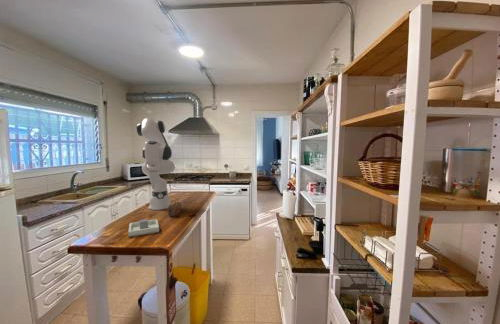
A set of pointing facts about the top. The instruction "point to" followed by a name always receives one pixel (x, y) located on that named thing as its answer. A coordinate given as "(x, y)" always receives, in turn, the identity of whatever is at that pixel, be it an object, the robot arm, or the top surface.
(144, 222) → the matte grey cube
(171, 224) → the top surface
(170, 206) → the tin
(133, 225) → the dish
